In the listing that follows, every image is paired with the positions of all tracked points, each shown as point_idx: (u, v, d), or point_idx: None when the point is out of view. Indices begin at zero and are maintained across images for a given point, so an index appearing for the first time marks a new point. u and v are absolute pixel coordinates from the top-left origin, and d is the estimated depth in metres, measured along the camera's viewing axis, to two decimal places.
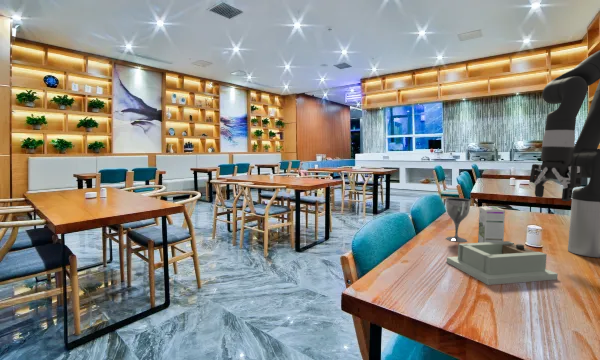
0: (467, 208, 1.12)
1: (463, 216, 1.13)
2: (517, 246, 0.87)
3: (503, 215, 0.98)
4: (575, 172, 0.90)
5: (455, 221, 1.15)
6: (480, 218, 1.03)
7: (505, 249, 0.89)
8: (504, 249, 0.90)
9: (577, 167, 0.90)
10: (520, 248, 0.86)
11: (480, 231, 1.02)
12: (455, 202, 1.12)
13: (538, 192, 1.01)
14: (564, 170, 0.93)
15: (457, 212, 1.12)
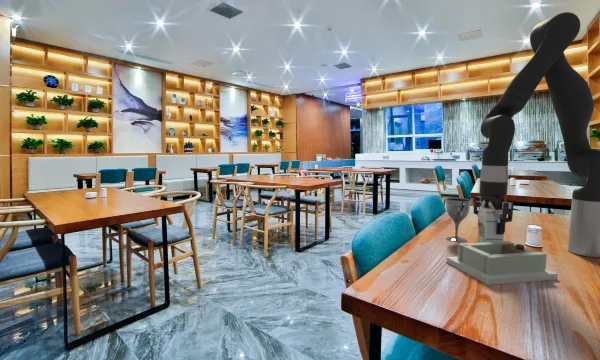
0: (467, 208, 1.12)
1: (463, 216, 1.13)
2: (517, 246, 0.87)
3: None
4: (506, 209, 0.94)
5: (455, 221, 1.15)
6: (480, 218, 1.03)
7: (505, 249, 0.89)
8: (504, 249, 0.90)
9: (509, 204, 0.94)
10: (520, 248, 0.86)
11: (480, 231, 1.02)
12: (455, 202, 1.12)
13: None
14: (498, 205, 0.97)
15: (457, 212, 1.12)
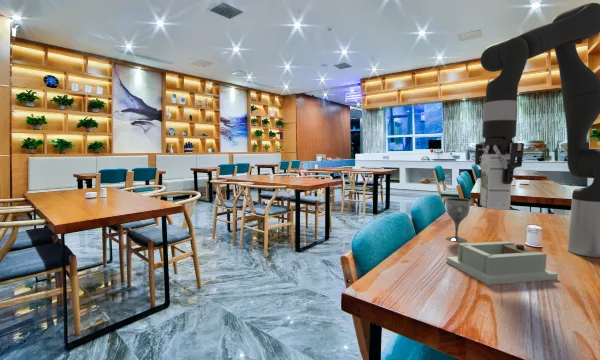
0: (467, 208, 1.12)
1: (463, 216, 1.13)
2: (517, 246, 0.87)
3: None
4: (515, 150, 0.77)
5: (455, 221, 1.15)
6: (483, 167, 0.86)
7: (505, 249, 0.89)
8: (504, 249, 0.90)
9: (518, 144, 0.77)
10: (520, 248, 0.86)
11: (483, 183, 0.86)
12: (455, 202, 1.12)
13: None
14: (505, 148, 0.80)
15: (457, 212, 1.12)
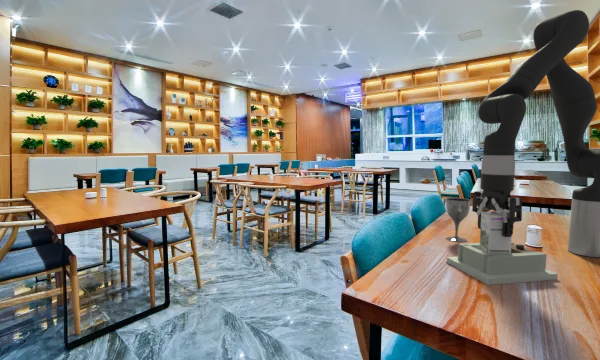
0: (467, 208, 1.12)
1: (463, 216, 1.13)
2: (517, 246, 0.87)
3: None
4: (514, 205, 0.77)
5: (455, 221, 1.15)
6: (482, 225, 0.86)
7: None
8: None
9: (516, 199, 0.78)
10: (520, 248, 0.86)
11: (482, 241, 0.86)
12: (455, 202, 1.12)
13: (480, 224, 0.89)
14: (503, 202, 0.81)
15: (457, 212, 1.12)
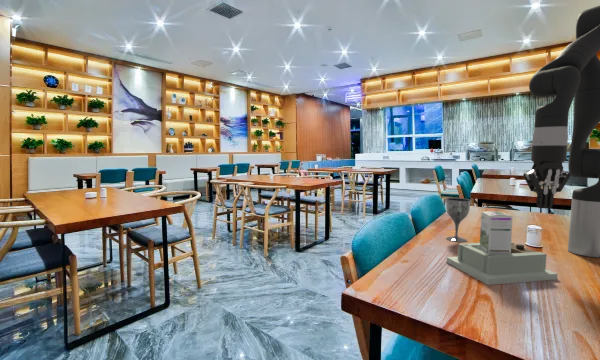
0: (467, 208, 1.12)
1: (463, 216, 1.13)
2: (517, 246, 0.87)
3: (510, 222, 0.81)
4: (526, 179, 0.87)
5: (455, 221, 1.15)
6: (482, 225, 0.86)
7: None
8: None
9: (526, 175, 0.86)
10: (520, 248, 0.86)
11: (482, 241, 0.86)
12: (455, 202, 1.12)
13: None
14: None
15: (457, 212, 1.12)
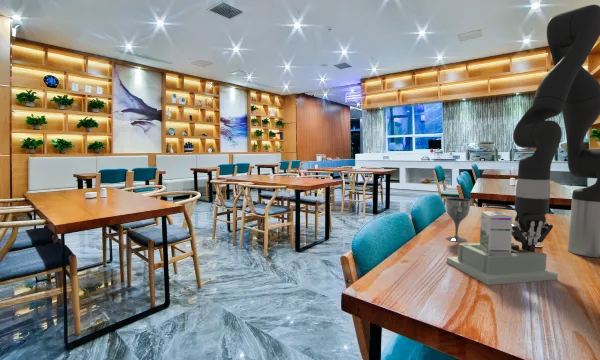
0: (467, 208, 1.12)
1: (463, 216, 1.13)
2: (512, 246, 0.87)
3: (510, 222, 0.81)
4: None
5: (455, 221, 1.15)
6: (482, 225, 0.86)
7: None
8: None
9: None
10: (515, 248, 0.86)
11: (482, 241, 0.86)
12: (455, 202, 1.12)
13: None
14: None
15: (457, 212, 1.12)
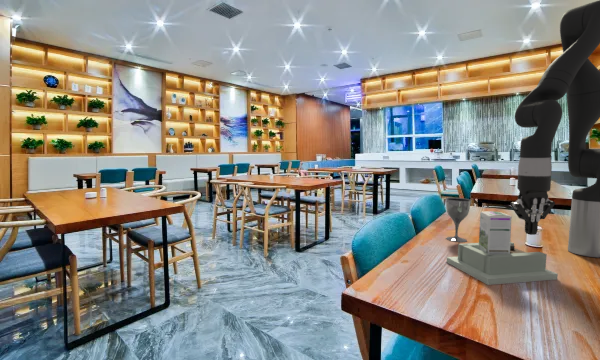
0: (467, 208, 1.12)
1: (463, 216, 1.13)
2: None
3: (510, 222, 0.81)
4: (513, 208, 0.90)
5: (455, 221, 1.15)
6: (481, 225, 0.86)
7: None
8: None
9: (513, 205, 0.89)
10: (510, 249, 0.86)
11: (481, 241, 0.86)
12: (455, 202, 1.12)
13: None
14: None
15: (457, 212, 1.12)
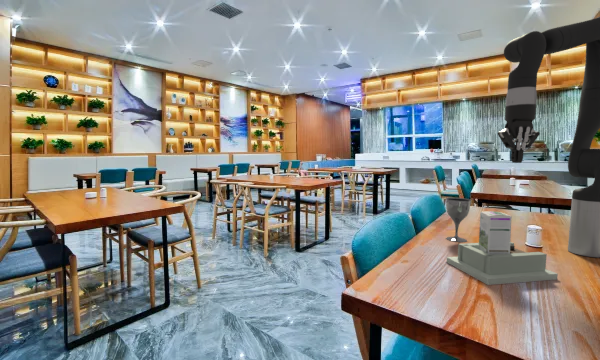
0: (467, 208, 1.12)
1: (463, 216, 1.13)
2: None
3: (510, 222, 0.81)
4: (500, 137, 0.95)
5: (455, 221, 1.15)
6: (481, 225, 0.86)
7: None
8: None
9: (500, 133, 0.94)
10: (510, 249, 0.86)
11: (481, 241, 0.86)
12: (455, 202, 1.12)
13: None
14: None
15: (457, 212, 1.12)
